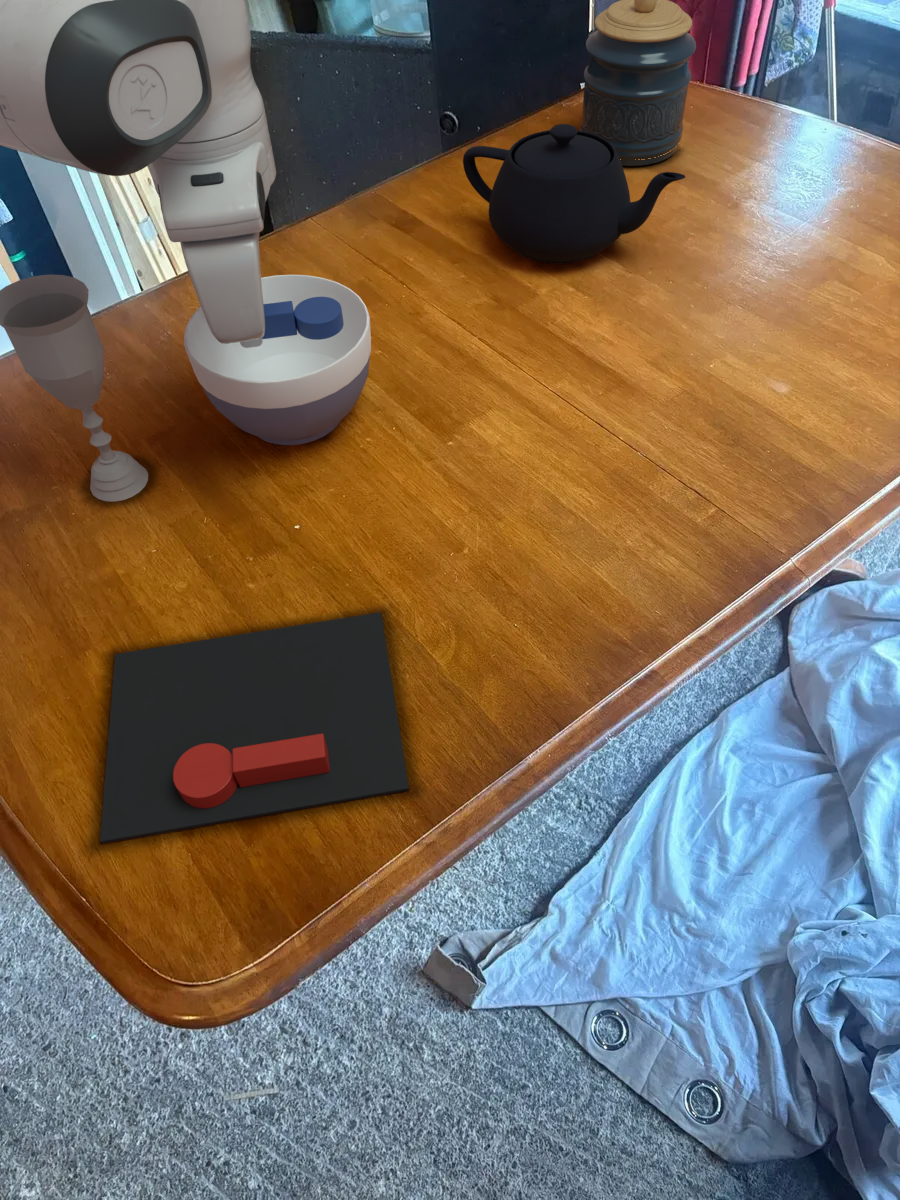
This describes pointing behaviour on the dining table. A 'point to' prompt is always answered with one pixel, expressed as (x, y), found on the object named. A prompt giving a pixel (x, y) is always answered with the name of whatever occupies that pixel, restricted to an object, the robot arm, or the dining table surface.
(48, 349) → the chalice
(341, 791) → the mat
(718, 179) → the dining table surface
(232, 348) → the bowl
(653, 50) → the canister
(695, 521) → the dining table surface
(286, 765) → the red spoon
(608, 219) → the teapot
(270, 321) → the blue spoon
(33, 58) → the robot arm
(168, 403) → the dining table surface
